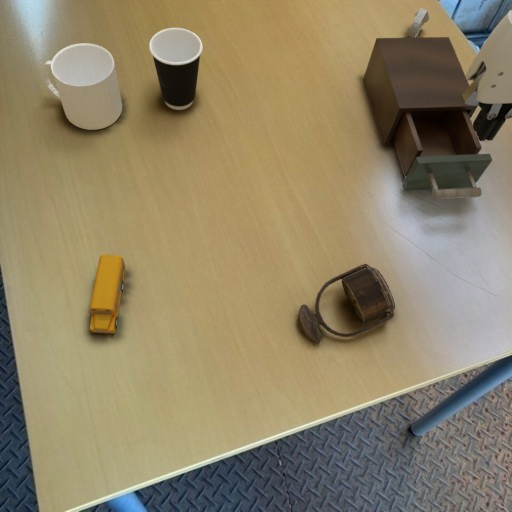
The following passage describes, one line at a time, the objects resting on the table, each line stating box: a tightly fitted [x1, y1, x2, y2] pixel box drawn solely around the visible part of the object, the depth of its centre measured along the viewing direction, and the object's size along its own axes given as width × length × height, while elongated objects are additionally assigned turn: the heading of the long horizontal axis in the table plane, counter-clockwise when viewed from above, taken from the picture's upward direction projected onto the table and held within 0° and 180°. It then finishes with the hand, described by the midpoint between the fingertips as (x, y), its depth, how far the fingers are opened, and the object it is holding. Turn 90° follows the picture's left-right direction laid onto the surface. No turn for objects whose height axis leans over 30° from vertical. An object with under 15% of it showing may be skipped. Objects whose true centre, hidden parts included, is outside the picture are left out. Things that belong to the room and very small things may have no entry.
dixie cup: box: [148, 27, 204, 111], centre depth 86 cm, size 8×8×11 cm
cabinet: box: [363, 36, 479, 147], centre depth 90 cm, size 16×13×9 cm
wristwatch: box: [407, 7, 430, 38], centre depth 102 cm, size 3×5×5 cm, turn 151°
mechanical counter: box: [298, 263, 396, 343], centre depth 71 cm, size 7×13×10 cm
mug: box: [40, 42, 123, 131], centre depth 85 cm, size 12×9×9 cm
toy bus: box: [89, 254, 126, 335], centre depth 71 cm, size 3×10×4 cm, turn 178°
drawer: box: [392, 110, 493, 200], centre depth 84 cm, size 19×11×7 cm, turn 7°
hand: (482, 132), depth 72 cm, fingers closed
